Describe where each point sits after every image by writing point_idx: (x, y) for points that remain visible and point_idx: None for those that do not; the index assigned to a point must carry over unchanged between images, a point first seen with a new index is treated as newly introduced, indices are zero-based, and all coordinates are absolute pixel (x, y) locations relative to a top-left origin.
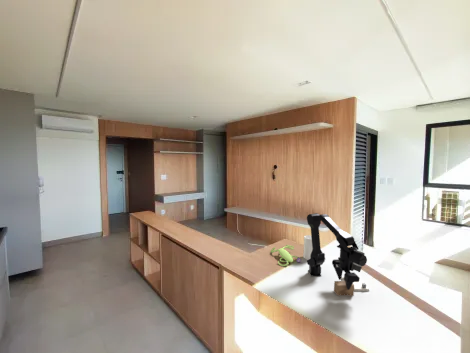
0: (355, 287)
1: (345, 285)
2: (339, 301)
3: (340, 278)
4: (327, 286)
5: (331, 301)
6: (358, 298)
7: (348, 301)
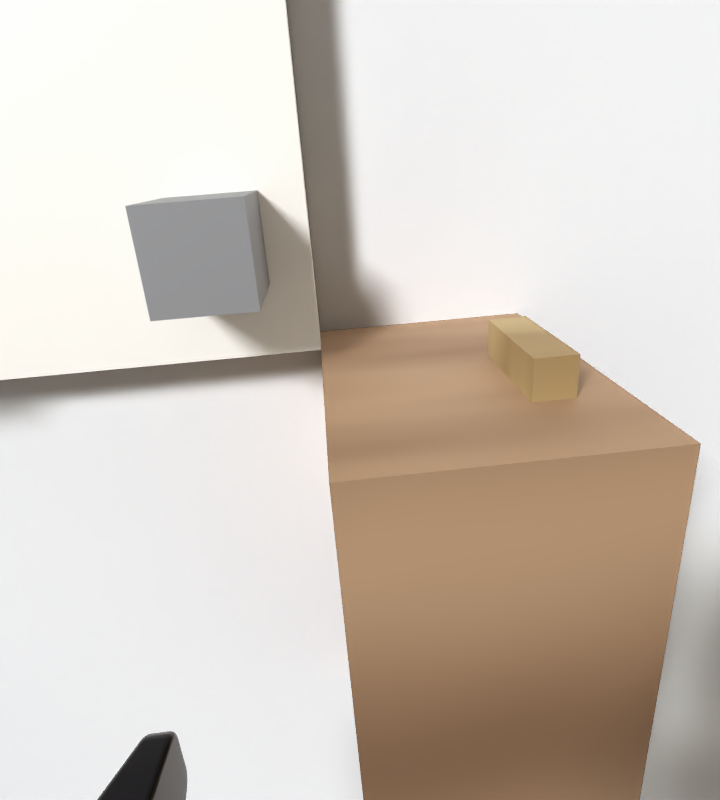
0: (208, 105)
1: (647, 746)
2: (683, 661)
3: (167, 795)
4: (207, 739)
5: (664, 766)
6: (646, 235)
7: (711, 512)
